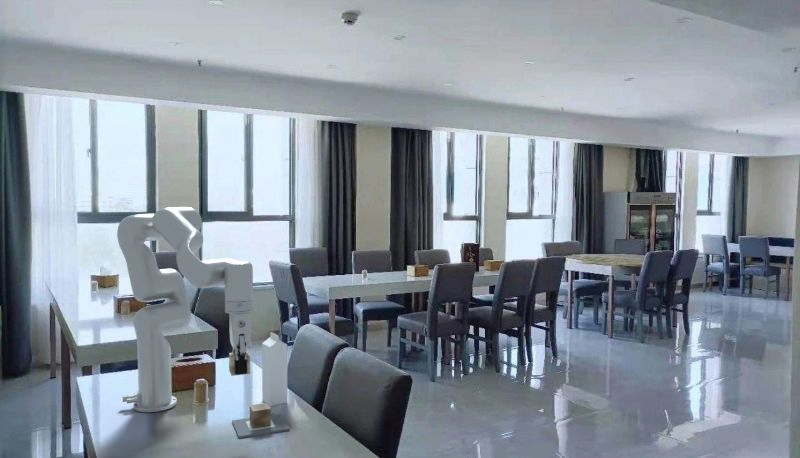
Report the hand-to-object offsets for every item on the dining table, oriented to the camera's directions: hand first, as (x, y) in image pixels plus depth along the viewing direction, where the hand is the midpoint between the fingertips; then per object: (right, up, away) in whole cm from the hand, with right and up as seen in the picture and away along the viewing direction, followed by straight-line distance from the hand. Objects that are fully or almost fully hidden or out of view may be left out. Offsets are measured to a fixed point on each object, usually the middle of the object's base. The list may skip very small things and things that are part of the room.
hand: (239, 370), depth 162 cm
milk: (+4, -16, +25) cm, 30 cm away
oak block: (0, -1, 0) cm, 1 cm away
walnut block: (+5, -17, +5) cm, 18 cm away
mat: (+5, -17, +5) cm, 19 cm away
